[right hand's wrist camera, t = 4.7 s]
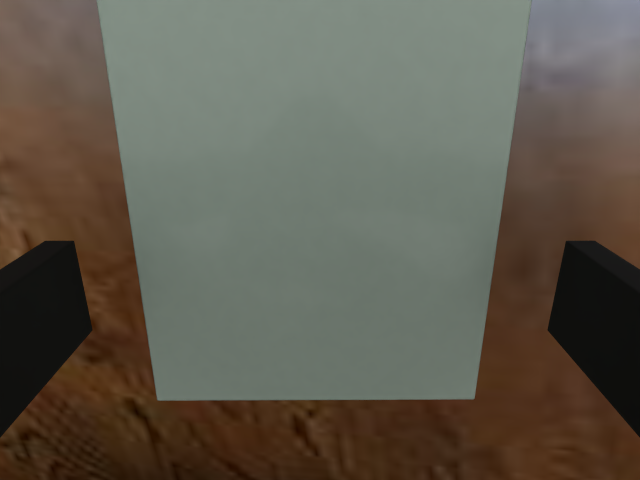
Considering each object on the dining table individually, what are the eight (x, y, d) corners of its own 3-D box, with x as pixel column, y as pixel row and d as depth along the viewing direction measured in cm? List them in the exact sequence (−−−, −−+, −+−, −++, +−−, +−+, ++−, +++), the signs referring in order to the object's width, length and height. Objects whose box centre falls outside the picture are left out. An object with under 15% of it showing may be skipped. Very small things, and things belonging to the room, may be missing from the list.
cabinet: (197, -128, 19) (34, -397, 8) (433, -128, 20) (590, -395, 8) (226, 257, 26) (156, 401, 14) (406, 256, 26) (475, 400, 15)
